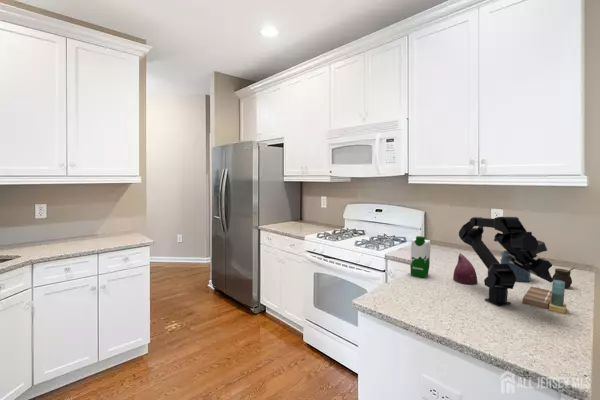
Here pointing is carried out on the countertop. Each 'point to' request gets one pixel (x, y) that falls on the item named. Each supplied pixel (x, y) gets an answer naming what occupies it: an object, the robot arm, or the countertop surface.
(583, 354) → the countertop surface
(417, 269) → the milk carton
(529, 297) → the board
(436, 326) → the countertop surface
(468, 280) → the vegetable
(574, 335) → the countertop surface
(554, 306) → the teal column with base
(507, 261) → the canister
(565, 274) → the mate gourd
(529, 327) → the countertop surface
